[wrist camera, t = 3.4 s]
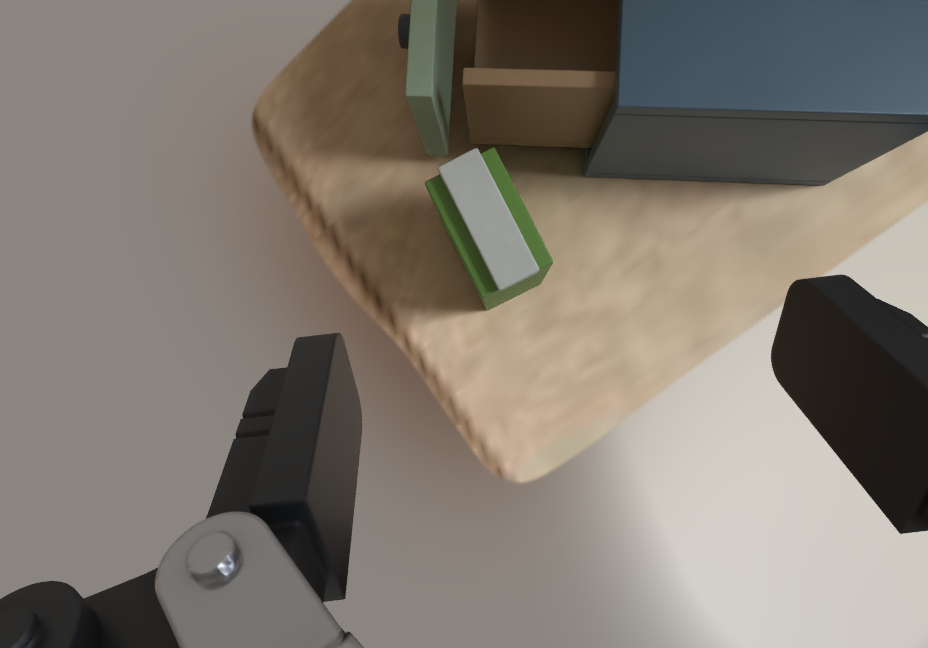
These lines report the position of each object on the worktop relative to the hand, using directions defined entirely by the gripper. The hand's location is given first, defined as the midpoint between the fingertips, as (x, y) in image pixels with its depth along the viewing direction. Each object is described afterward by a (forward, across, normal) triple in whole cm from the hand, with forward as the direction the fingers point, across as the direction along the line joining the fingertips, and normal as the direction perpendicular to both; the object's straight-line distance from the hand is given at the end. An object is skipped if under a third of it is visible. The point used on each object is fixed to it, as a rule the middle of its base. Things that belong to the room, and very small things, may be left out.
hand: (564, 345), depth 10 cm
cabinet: (+26, -14, +3) cm, 30 cm away
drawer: (+27, -4, +1) cm, 27 cm away
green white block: (+22, 0, +10) cm, 24 cm away
